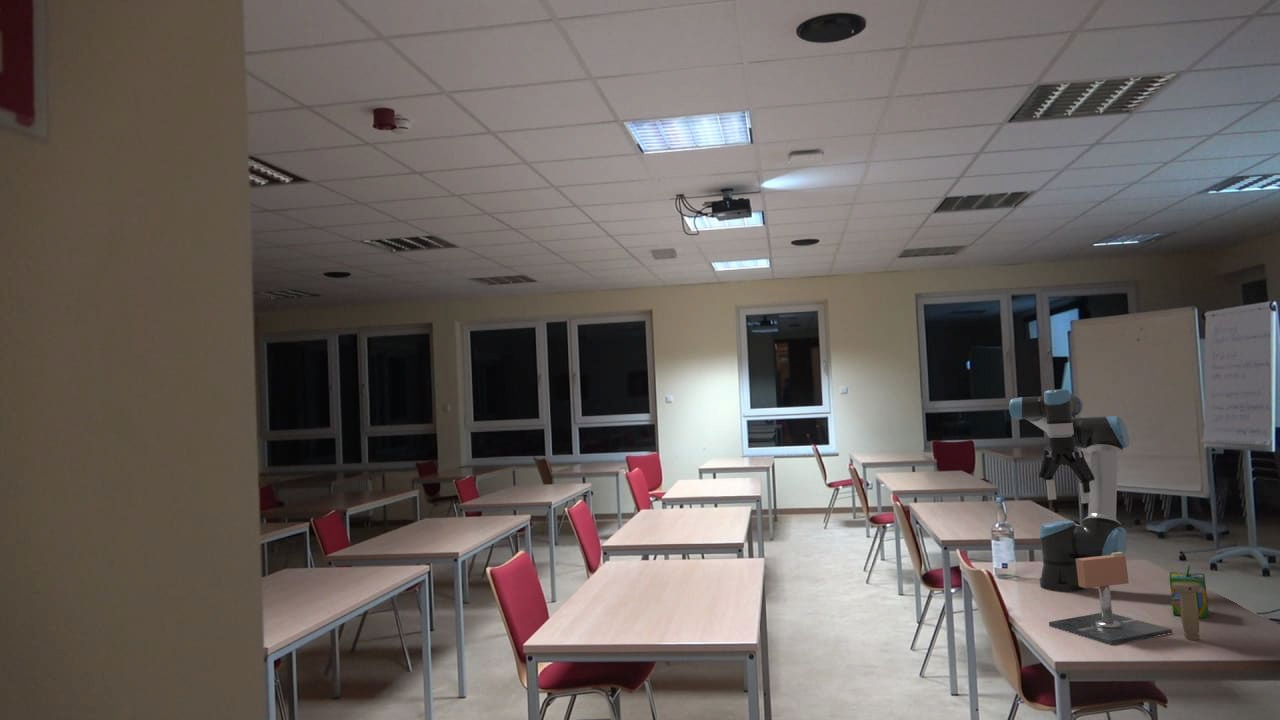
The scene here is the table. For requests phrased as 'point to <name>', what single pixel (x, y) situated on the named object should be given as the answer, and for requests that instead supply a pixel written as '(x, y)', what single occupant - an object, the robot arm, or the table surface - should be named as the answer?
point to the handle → (1188, 608)
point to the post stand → (1109, 624)
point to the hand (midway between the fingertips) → (1068, 501)
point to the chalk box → (1199, 595)
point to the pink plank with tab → (1102, 570)
